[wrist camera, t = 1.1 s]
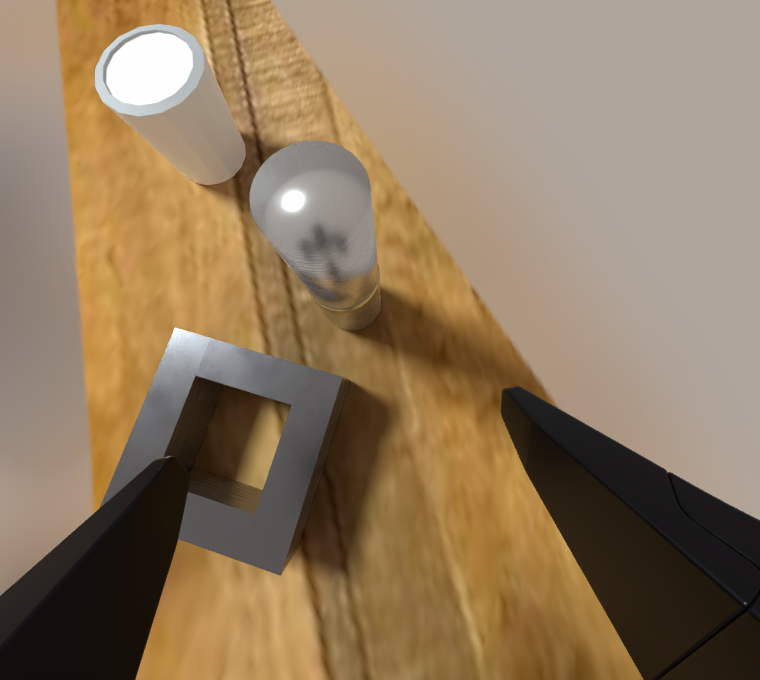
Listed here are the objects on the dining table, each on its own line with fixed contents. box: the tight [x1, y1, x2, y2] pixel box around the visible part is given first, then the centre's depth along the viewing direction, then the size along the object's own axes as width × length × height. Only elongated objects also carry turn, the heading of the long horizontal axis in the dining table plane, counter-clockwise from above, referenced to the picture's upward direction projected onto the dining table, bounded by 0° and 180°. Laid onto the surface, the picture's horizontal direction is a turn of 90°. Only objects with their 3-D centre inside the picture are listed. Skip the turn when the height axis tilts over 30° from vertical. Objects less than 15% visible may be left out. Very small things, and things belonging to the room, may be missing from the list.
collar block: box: [100, 328, 350, 575], centre depth 20 cm, size 11×11×4 cm
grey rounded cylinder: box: [250, 141, 381, 331], centre depth 17 cm, size 4×4×12 cm
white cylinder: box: [95, 24, 246, 185], centre depth 22 cm, size 7×7×7 cm
